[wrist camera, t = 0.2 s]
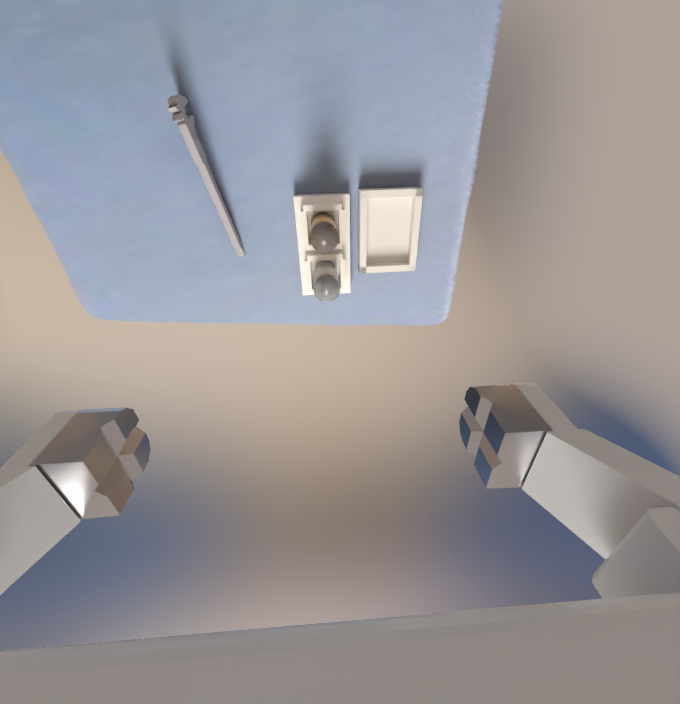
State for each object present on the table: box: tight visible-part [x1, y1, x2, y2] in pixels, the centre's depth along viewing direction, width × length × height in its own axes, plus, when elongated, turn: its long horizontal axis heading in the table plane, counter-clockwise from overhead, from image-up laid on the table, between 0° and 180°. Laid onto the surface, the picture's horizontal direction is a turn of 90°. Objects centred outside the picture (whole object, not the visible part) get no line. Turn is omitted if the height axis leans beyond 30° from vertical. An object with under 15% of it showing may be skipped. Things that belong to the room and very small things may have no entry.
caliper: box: [167, 95, 245, 256], centre depth 44 cm, size 20×1×6 cm, turn 12°
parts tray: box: [358, 186, 423, 273], centre depth 50 cm, size 12×9×2 cm
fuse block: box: [294, 193, 351, 302], centre depth 48 cm, size 15×8×10 cm, turn 2°
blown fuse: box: [310, 212, 339, 253], centre depth 45 cm, size 4×4×8 cm
